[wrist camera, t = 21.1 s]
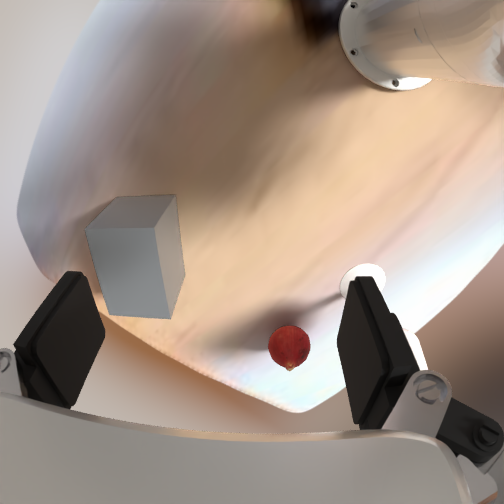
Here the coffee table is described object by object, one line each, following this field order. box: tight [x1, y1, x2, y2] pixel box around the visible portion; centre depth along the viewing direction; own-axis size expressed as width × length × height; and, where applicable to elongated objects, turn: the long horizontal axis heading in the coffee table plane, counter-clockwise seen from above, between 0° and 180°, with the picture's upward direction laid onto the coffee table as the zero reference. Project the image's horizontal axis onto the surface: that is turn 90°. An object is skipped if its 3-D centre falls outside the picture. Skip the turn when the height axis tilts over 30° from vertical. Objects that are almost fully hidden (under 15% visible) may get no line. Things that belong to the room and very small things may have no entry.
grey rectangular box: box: [85, 195, 185, 319], centre depth 35 cm, size 11×8×9 cm
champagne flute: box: [340, 264, 428, 371], centre depth 32 cm, size 7×7×24 cm
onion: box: [268, 326, 310, 371], centre depth 43 cm, size 6×6×8 cm
